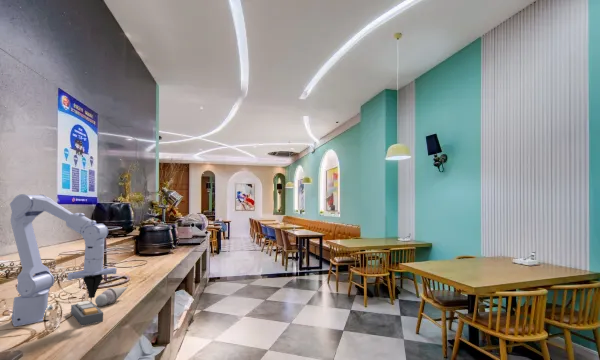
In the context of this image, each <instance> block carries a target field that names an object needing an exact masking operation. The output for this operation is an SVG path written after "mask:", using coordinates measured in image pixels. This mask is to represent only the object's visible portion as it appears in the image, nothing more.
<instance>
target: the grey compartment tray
mask: <svg viewBox="0 0 600 360" xmlns="http://www.w3.org/2000/svg"><path fill="white" fill-rule="evenodd" d="M89 302H90V304H92V305H93V306H94V307H95V308H96V309H97V310H98V313H95V314H90V315H84V313H83V311H81V310H80V308H78V307H77V303H76V304H71V306H70V314H71V316H73V318H74V319H75V320H76V321H77V322H78V324H79V325H80V326H81V327H84V326H88V325H93V324H96V323H101V322H103V321H104V312H103V310H101V309H100V308H99V306H98V305H97V304H96V305H95V304H94V302H93V301H89Z"/></svg>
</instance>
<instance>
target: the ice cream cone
mask: <svg viewBox="0 0 600 360" xmlns="http://www.w3.org/2000/svg"><path fill="white" fill-rule="evenodd" d="M128 288H129V286H126V287H125V286H124V287H110V288H109V287H108V288H107V289H106V290H104V291H103V292H102V293H100V294H98V295H97V296H96V298H95V300H94V302H95V304H96V306H97V307H103V306H105V305H111V304H112V303H115V302H116V301H117V300H118V299H119V298H120V297H122V294H123V293H125V292H126V290H127V289H128Z"/></svg>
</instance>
